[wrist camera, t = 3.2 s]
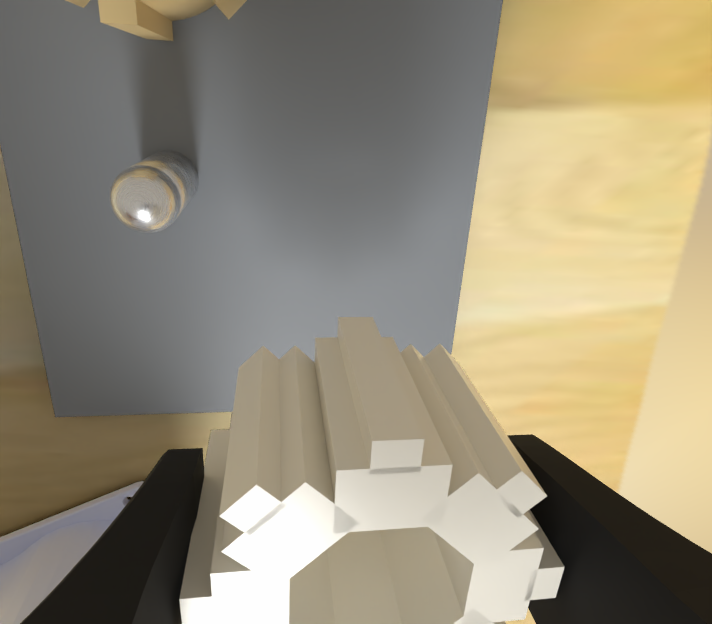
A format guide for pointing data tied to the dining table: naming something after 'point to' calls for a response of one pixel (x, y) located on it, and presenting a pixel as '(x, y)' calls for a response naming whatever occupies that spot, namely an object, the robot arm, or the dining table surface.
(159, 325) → the gear board
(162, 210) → the steel peg
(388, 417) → the gear
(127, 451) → the dining table surface
